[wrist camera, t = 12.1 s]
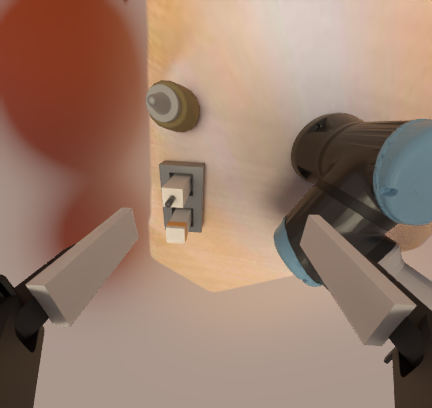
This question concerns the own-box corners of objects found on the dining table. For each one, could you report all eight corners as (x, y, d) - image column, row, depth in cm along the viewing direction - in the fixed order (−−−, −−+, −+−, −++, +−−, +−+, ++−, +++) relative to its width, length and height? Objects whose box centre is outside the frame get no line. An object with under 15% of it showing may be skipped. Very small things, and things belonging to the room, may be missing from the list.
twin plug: (192, 173, 41) (178, 195, 28) (192, 188, 42) (179, 215, 30) (176, 172, 41) (155, 193, 28) (176, 187, 42) (157, 213, 30)
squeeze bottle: (204, 128, 37) (191, 131, 21) (170, 134, 38) (132, 141, 22) (197, 86, 34) (175, 49, 17) (160, 93, 34) (105, 64, 18)
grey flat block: (204, 163, 40) (202, 167, 37) (202, 224, 48) (201, 232, 45) (164, 160, 41) (159, 164, 37) (169, 222, 48) (165, 229, 45)
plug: (192, 218, 46) (184, 243, 36) (178, 217, 46) (166, 242, 36) (192, 205, 44) (184, 228, 35) (177, 204, 44) (165, 227, 35)
